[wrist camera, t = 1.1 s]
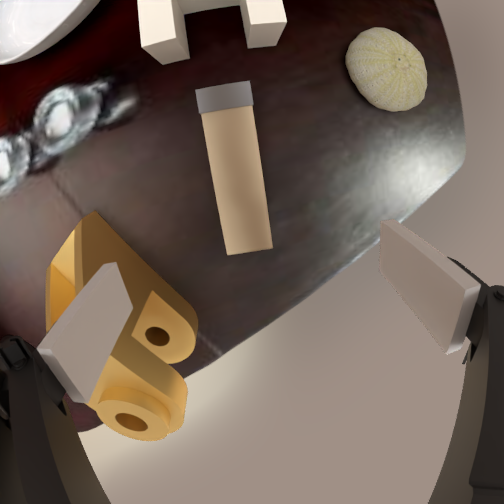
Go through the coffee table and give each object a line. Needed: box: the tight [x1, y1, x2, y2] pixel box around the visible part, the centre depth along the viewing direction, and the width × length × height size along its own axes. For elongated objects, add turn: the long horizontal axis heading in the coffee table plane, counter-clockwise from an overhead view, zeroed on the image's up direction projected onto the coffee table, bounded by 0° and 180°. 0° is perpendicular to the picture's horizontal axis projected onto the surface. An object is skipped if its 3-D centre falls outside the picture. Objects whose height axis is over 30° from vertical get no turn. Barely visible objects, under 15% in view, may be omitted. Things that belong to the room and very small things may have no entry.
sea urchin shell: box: [345, 27, 427, 112], centre depth 22 cm, size 9×8×8 cm
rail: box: [195, 81, 273, 255], centre depth 25 cm, size 4×14×6 cm, turn 8°
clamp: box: [46, 211, 198, 441], centre depth 26 cm, size 20×9×16 cm, turn 40°
